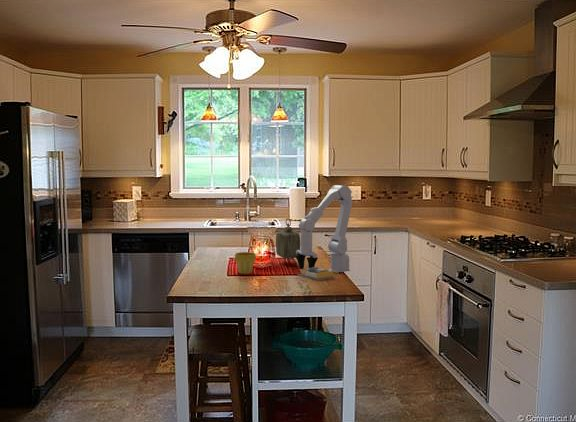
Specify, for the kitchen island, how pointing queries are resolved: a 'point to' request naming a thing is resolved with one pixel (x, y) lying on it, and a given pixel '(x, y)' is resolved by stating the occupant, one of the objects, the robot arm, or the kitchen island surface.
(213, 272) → the kitchen island surface
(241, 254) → the plant pot
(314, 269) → the trolley
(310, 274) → the loading dock
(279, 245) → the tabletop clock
